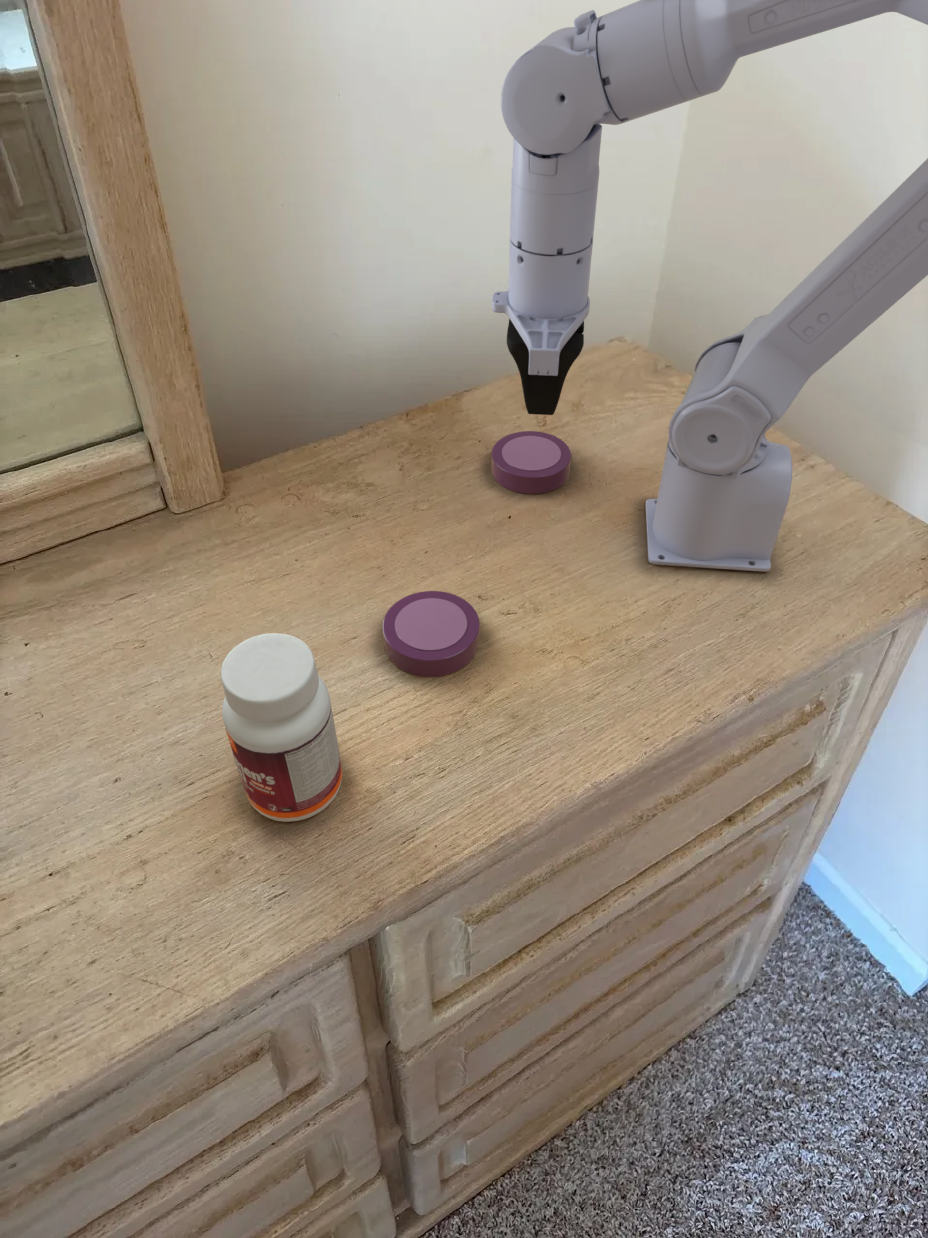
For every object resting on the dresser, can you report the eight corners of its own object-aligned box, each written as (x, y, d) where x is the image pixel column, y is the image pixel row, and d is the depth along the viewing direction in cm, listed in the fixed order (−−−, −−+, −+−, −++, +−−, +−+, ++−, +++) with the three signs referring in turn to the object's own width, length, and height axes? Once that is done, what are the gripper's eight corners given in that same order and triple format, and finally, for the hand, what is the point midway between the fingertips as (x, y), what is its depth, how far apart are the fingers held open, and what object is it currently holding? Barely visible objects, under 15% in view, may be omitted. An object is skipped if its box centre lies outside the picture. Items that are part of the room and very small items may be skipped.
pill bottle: (226, 788, 57) (185, 670, 49) (298, 729, 60) (271, 609, 52) (292, 844, 54) (260, 729, 46) (364, 778, 58) (346, 660, 50)
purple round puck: (570, 449, 83) (572, 432, 81) (568, 496, 78) (570, 479, 77) (494, 445, 83) (495, 427, 82) (487, 491, 79) (488, 473, 77)
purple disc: (483, 610, 68) (483, 593, 67) (474, 681, 63) (474, 663, 62) (392, 604, 69) (390, 586, 67) (376, 673, 64) (374, 655, 63)
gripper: (500, 196, 67) (496, 360, 77) (485, 284, 57) (483, 461, 67) (595, 198, 67) (579, 364, 76) (597, 287, 57) (579, 465, 66)
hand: (540, 409), depth 72 cm, fingers closed
